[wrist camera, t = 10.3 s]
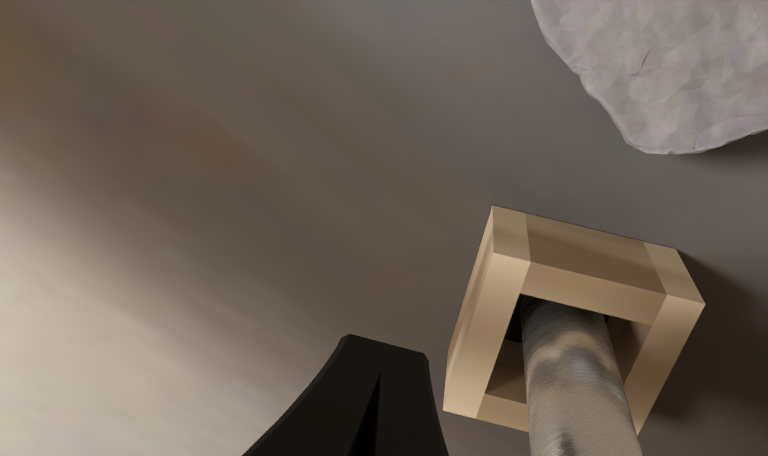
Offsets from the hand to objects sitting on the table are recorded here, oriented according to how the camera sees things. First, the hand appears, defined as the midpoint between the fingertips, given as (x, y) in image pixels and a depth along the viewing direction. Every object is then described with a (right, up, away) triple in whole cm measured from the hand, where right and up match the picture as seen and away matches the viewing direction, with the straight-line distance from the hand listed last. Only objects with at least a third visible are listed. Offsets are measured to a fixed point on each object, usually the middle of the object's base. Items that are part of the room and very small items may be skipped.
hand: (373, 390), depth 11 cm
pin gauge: (+6, 0, +10) cm, 12 cm away
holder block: (+6, 0, +10) cm, 12 cm away
